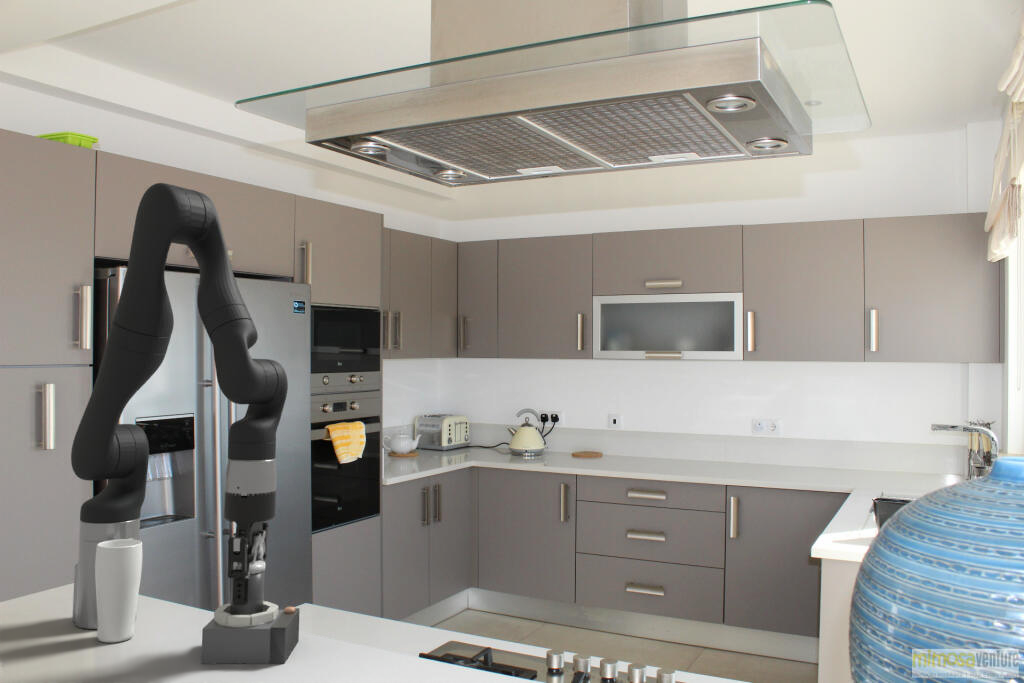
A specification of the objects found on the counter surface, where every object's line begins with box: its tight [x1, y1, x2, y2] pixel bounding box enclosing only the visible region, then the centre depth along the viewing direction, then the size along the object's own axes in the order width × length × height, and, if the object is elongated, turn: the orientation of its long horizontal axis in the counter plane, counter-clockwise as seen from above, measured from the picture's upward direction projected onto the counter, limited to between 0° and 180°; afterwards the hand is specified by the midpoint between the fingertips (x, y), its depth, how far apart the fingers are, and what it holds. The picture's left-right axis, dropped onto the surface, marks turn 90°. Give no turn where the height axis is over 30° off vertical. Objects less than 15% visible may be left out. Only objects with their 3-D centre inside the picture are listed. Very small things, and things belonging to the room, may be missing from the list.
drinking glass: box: [95, 539, 144, 644], centre depth 129 cm, size 7×7×15 cm
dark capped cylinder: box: [229, 560, 266, 615], centre depth 124 cm, size 5×5×8 cm
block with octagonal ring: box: [200, 600, 301, 665], centre depth 124 cm, size 12×10×6 cm
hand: (247, 597), depth 124 cm, fingers open, 6 cm apart
